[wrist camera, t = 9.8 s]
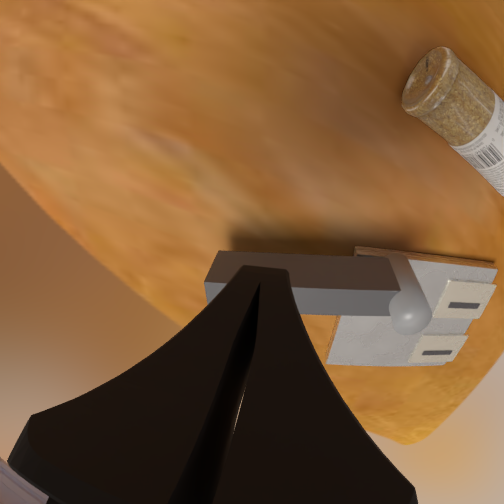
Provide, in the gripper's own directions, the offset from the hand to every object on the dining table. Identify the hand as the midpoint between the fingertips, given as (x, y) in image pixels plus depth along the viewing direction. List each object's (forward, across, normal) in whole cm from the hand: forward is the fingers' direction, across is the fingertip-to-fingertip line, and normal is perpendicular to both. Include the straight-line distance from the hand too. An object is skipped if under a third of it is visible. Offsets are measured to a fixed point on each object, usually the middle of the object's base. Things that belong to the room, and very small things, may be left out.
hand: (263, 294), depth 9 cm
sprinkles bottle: (+8, -6, -8) cm, 13 cm away
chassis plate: (+10, -11, +9) cm, 17 cm away
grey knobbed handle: (+9, -3, +4) cm, 10 cm away
